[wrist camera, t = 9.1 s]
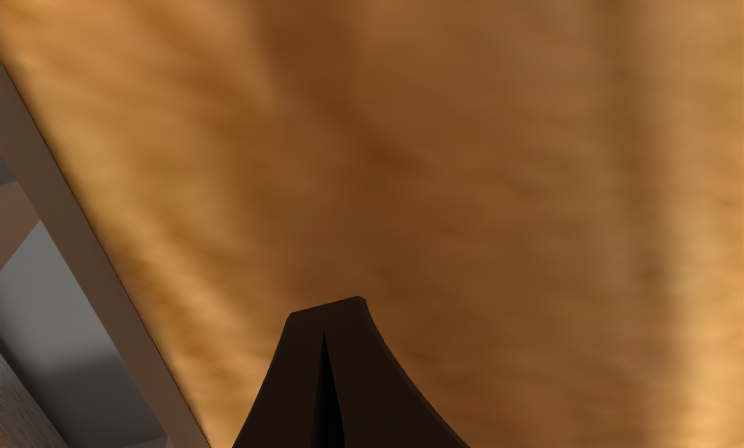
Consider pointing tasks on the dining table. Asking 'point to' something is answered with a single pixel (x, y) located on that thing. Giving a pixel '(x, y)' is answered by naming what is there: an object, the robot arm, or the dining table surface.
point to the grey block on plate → (23, 416)
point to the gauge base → (74, 310)
